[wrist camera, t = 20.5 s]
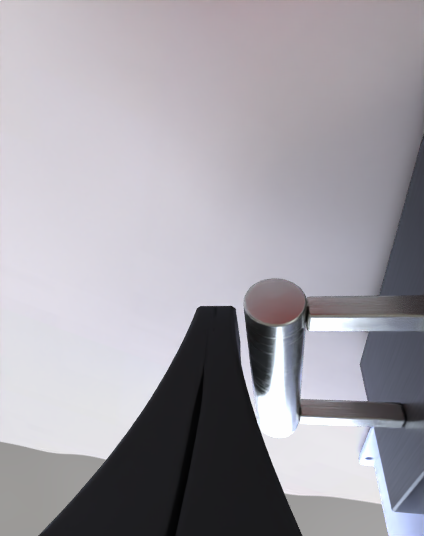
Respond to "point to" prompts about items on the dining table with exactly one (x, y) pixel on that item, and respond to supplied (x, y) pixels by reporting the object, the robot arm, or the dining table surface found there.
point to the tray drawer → (372, 362)
